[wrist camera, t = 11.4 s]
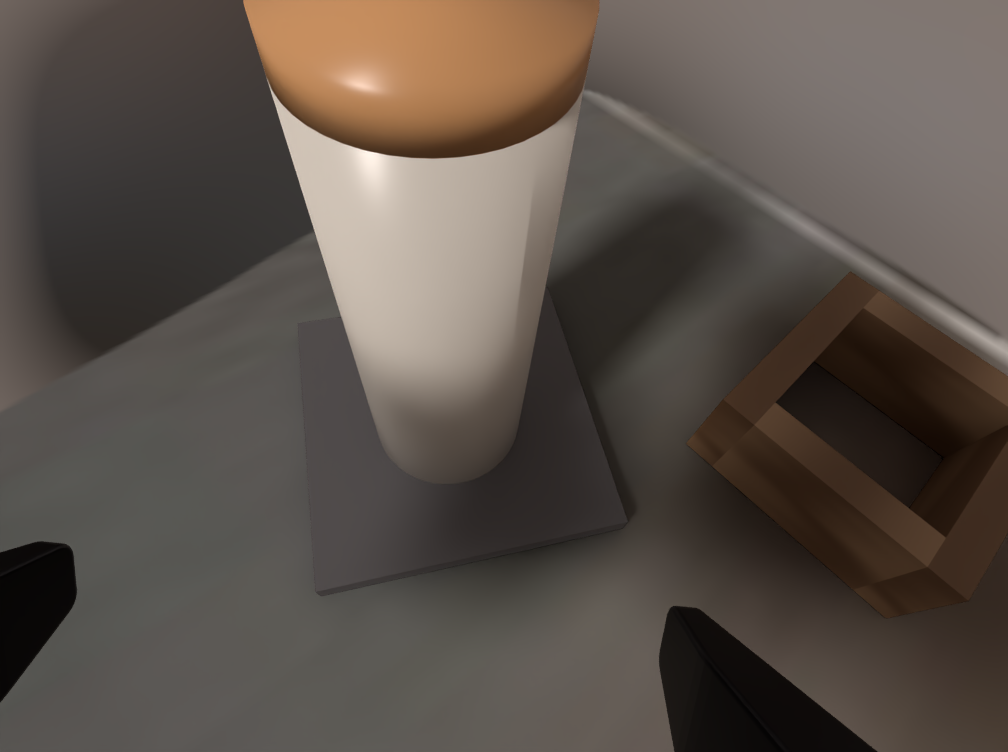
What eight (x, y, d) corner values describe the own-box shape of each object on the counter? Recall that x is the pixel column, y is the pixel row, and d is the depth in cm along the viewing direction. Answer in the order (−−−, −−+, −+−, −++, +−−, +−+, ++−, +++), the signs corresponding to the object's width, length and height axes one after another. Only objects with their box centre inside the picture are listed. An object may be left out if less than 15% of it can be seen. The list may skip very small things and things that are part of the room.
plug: (534, 467, 19) (649, 72, 7) (386, 497, 19) (243, 106, 6) (501, 347, 22) (547, -100, 10) (369, 368, 21) (241, -91, 9)
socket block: (987, 460, 22) (1073, 419, 18) (885, 618, 18) (969, 601, 15) (802, 325, 24) (850, 271, 21) (686, 443, 21) (723, 399, 18)
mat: (622, 528, 19) (628, 521, 19) (320, 596, 18) (315, 591, 17) (545, 298, 24) (547, 286, 23) (302, 335, 22) (297, 323, 22)
